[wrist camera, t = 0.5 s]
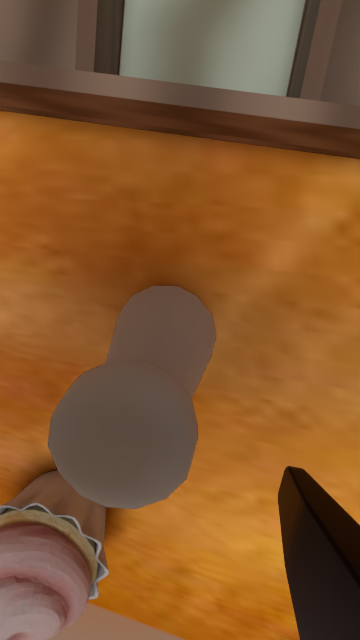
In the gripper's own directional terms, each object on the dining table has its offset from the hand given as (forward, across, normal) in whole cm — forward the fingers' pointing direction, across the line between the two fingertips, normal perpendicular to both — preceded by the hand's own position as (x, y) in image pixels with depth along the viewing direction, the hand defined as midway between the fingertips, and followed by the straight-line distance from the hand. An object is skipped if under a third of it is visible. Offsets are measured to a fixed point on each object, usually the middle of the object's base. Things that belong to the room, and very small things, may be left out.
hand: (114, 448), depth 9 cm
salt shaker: (+13, 0, 0) cm, 13 cm away
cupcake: (+13, +6, +16) cm, 22 cm away
